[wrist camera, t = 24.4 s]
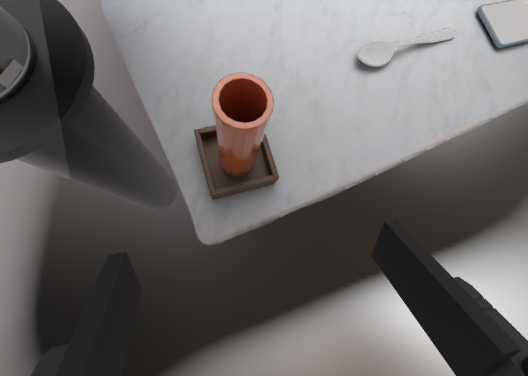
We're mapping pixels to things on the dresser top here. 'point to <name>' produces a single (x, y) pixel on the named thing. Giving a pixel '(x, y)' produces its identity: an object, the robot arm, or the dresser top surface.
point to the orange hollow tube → (240, 120)
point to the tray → (226, 184)
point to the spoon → (383, 51)
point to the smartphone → (506, 21)
